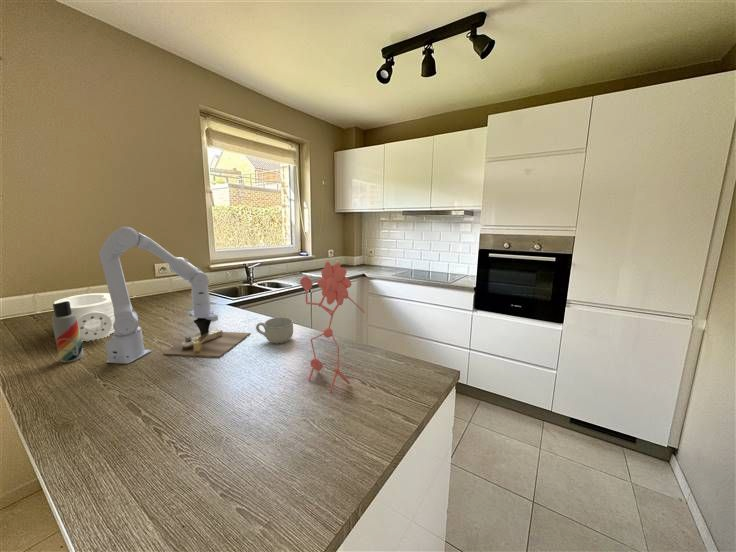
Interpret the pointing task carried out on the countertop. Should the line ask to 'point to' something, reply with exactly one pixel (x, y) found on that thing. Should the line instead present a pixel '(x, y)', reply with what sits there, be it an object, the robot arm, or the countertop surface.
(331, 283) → the figurine
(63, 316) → the lotion bottle
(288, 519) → the countertop surface
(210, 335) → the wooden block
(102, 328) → the housing
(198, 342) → the brass keeper
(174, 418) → the countertop surface
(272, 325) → the teacup
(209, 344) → the walnut board
